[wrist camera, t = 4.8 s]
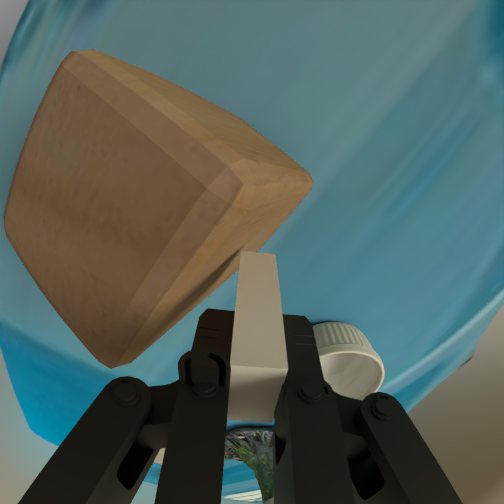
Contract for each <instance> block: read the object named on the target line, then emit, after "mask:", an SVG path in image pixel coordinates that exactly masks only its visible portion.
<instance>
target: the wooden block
mask: <svg viewBox="0 0 504 504" xmlns="http://www.w3.org/2000/svg"><path fill="white" fill-rule="evenodd" d="M313 182H314V181H313V179H312V177H311V175H310V173H308V172H307V171H306V170H305V169H304V168H302V167H301V166H300V165H299V164H298V163H297V162H295V161H294V160H293V159H292V158H290V157H289V156H288V155H287V154H286V153H284V152H283V151H282V150H281V149H279V148H278V147H277V146H276V145H274V144H273V143H272V142H271V141H269V140H268V139H267V138H265V137H264V136H263V135H262V134H260V133H259V132H258V131H256V130H255V129H254V128H252V127H251V126H250V125H249V124H247V123H246V122H245V121H243V120H242V119H240V118H239V117H237V116H235V115H234V114H232V113H230V112H228V111H226V110H225V109H223V108H221V107H219V106H217V105H215V104H213V103H212V102H210V101H208V100H206V99H204V98H202V97H200V96H198V95H196V94H194V93H192V92H190V91H188V90H186V89H184V88H182V87H180V86H178V85H176V84H174V83H172V82H170V81H168V80H165V79H163V78H161V77H159V76H157V75H155V74H152V73H150V72H148V71H146V70H143V69H141V68H139V67H136V66H134V65H132V64H129V63H127V62H124V61H122V60H119V59H117V58H114V57H112V56H109V55H107V54H104V53H102V52H99V51H96V50H93V49H92V50H83V51H71V52H70V53H69V54H68V55H67V56H66V58H65V59H64V60H63V61H62V62H61V63H60V65H59V67H58V69H57V71H56V72H55V74H54V76H53V78H52V80H51V82H50V84H49V86H48V88H47V90H46V92H45V94H44V97H43V99H42V101H41V103H40V105H39V108H38V110H37V112H36V115H35V117H34V119H33V122H32V124H31V127H30V129H29V132H28V135H27V137H26V140H25V143H24V145H23V148H22V151H21V154H20V157H19V160H18V163H17V167H16V170H15V173H14V177H13V180H12V184H11V187H10V191H9V195H8V199H7V203H6V208H5V212H4V228H5V232H6V236H7V238H8V239H9V241H10V243H11V245H12V246H13V248H14V250H15V251H16V253H17V255H18V256H19V258H20V259H21V261H22V263H23V264H24V266H25V267H26V269H27V270H28V272H29V273H30V275H31V277H32V278H33V279H34V281H35V282H36V284H37V285H38V287H39V288H40V290H41V291H42V292H43V294H44V295H45V297H46V298H47V299H48V301H49V302H50V303H51V305H52V306H53V308H54V309H55V310H56V311H57V313H58V314H59V315H60V317H61V318H62V319H63V320H64V322H65V323H66V324H67V325H68V327H69V328H70V329H71V330H72V332H73V333H74V334H75V335H76V336H77V338H78V339H79V340H80V341H81V342H82V343H83V345H84V346H85V347H86V348H87V349H88V350H89V351H90V353H91V354H92V355H93V356H94V357H95V358H96V359H97V360H98V361H99V362H100V363H102V364H104V365H105V366H107V367H109V368H111V369H112V368H115V367H118V366H121V365H125V364H128V363H131V362H132V361H133V360H135V359H136V358H137V357H138V356H139V355H140V354H142V353H143V352H144V351H145V350H146V349H147V348H149V347H150V346H151V345H152V344H153V343H154V342H155V341H157V340H158V339H159V338H160V337H161V336H162V335H164V334H165V333H166V332H167V331H168V330H169V329H171V328H172V327H173V326H174V325H175V324H176V323H177V322H179V321H180V320H181V319H182V318H183V317H184V316H186V315H187V314H188V313H189V312H190V311H191V310H192V309H194V308H195V307H196V306H197V305H198V304H199V303H201V302H202V301H203V300H204V299H205V298H206V297H207V296H209V295H210V294H211V293H212V292H213V291H214V290H215V289H217V288H218V287H219V286H220V285H221V284H222V283H224V282H225V281H226V280H227V279H228V278H229V277H230V276H232V275H233V274H234V273H235V272H236V271H237V270H238V269H239V267H240V257H241V251H249V252H258V251H259V249H260V248H261V247H262V246H263V245H264V244H265V243H266V241H267V240H268V239H269V238H270V237H271V236H272V234H273V233H274V232H275V231H276V230H277V229H278V228H279V226H280V225H281V224H282V223H283V222H284V221H285V219H286V218H287V217H288V216H289V215H290V214H291V212H292V211H293V210H294V209H295V208H296V207H297V206H298V204H299V203H300V202H301V201H302V200H303V199H304V197H305V196H306V195H307V194H308V193H309V192H310V191H311V188H312V185H313Z"/></svg>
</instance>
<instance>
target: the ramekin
mask: <svg viewBox="0 0 504 504" xmlns="http://www.w3.org/2000/svg"><path fill="white" fill-rule="evenodd" d="M313 330H314V335H315V336H314V338H315V339H316V346H317V349H318V353H319V358H320V363H321V367H322V372H323V377H324V380H325V381H326V382H327V383H328V384H329V385H330V386H331V387H332V389H333V391H335V392H336V393H338V394H340V395H343V396H346V397H350V398H354V399H358V400H363V399H364V398H365V397H366V396H367V395H369V394H371V393H376V391H377V390H378V389H379V387H380V386H381V384H382V382H383V379H384V367H383V364H382V361H381V359H380V357H379V355H378V354H377V353H376V352H375V351H374V350H373V348H372V346H371V345H370V343H369V341H368V340H367V338H366V337H365V336H364V334H363V333H362V332H361V331H360V330H358V329H357V328H356V327H354V326H352V325H349V324H346V323H340V322H325V323H320V324H317V325H314V326H313Z"/></svg>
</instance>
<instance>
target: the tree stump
mask: <svg viewBox="0 0 504 504" xmlns="http://www.w3.org/2000/svg"><path fill="white" fill-rule="evenodd" d="M274 428H275V427H239V428H235V429H231V430H229V431H227V432H226V438H225V451H224V455H225V459H226V460H227V459H229V460H231V459H235V460H238V461H244V463H246V465H247V466H248V467H250V468H251V469H253V470H254V472H255V475H256V476H255V477H256V479H257V480H258V484H259V486H260V490H261V494H262V502H263V504H274V488H273V447H269V443H270V440H271V437H272V434H273V431H274Z"/></svg>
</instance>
